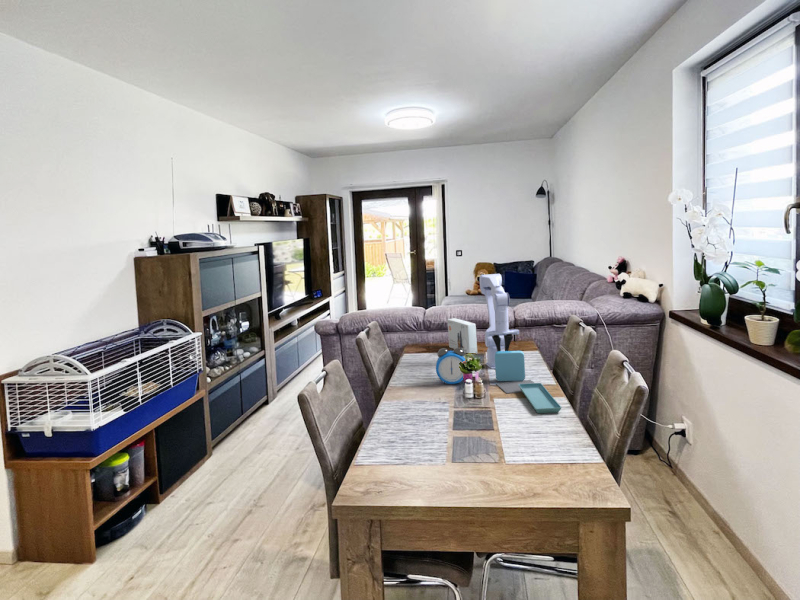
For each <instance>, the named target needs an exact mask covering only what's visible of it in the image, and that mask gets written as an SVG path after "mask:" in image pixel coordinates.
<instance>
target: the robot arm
mask: <svg viewBox="0 0 800 600" xmlns="http://www.w3.org/2000/svg"><path fill="white" fill-rule="evenodd" d="M502 282H503V278H502V274H500V273H491V274H488V273H487V274H480V275H479V288H480V293H481V294H482V295H484V297H485V301H486V309H487V314H488V315H487V316H488V323H489V324H488V325H489V327H488V328H487V329H486V330H485V332H484V343H485V346H486V348H487V350H486V362H485V365H486V366H487V367H489V368H490V369H494V370H495V353H496V352H498V351H510V350H509V349H510V346H511V342H512V340H513V338H514V336H515V335H520V330H519V329H518V328H517V329H509V328H510V325H509V324H510V322H509V306H510V302H511V301H510V294H509V292H505V289H504V287H503V286H502Z"/></svg>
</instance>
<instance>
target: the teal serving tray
mask: <svg viewBox="0 0 800 600" xmlns="http://www.w3.org/2000/svg"><path fill="white" fill-rule="evenodd" d="M518 385H519V387H520V389H521V391H522V392H521V393H522V394H523V395H524V396H525V398H526V399H527V401H528V403H529V404H530V405H531V406H532V408H533V409H534V410H535V412H536V414H547V413H549V414H550V413H551V414H553V413H559V412H560V411H561V410H562V406H561V405H560V403H559V402H558V401H557V400H556V399H555V398H554V397H553V396H552V395H551V393H550V392H549V391H548V389H547V388H546V387H545V386H544V384H542V382H534V383H529V384H518Z"/></svg>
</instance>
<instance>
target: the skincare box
mask: <svg viewBox="0 0 800 600" xmlns="http://www.w3.org/2000/svg"><path fill="white" fill-rule="evenodd" d="M446 322H447V333H448V346H449V348H451V349H452V350H454V349H455V348H461V349H463V351H464V353H465V354H466V353H476V354H478V344H477V343H478V340H477V327H476V326H477V325H476V323H474V322H471V321H468V320H464V319H459V318H457V317H452V318H447V321H446Z"/></svg>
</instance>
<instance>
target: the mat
mask: <svg viewBox="0 0 800 600" xmlns="http://www.w3.org/2000/svg"><path fill="white" fill-rule="evenodd" d="M529 383H535V382H534V381H533V380H531V379H524V380H523V381H502V382H495V385H496V386H497V387H498V388H499V387H500V388H499V389H500V390H501V391H503V392H504V393H505V394H507V395H509V394H518V393H519V394H520V393H523V392H522V391H521V389H520V387H519V385H518V384H529Z"/></svg>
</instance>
